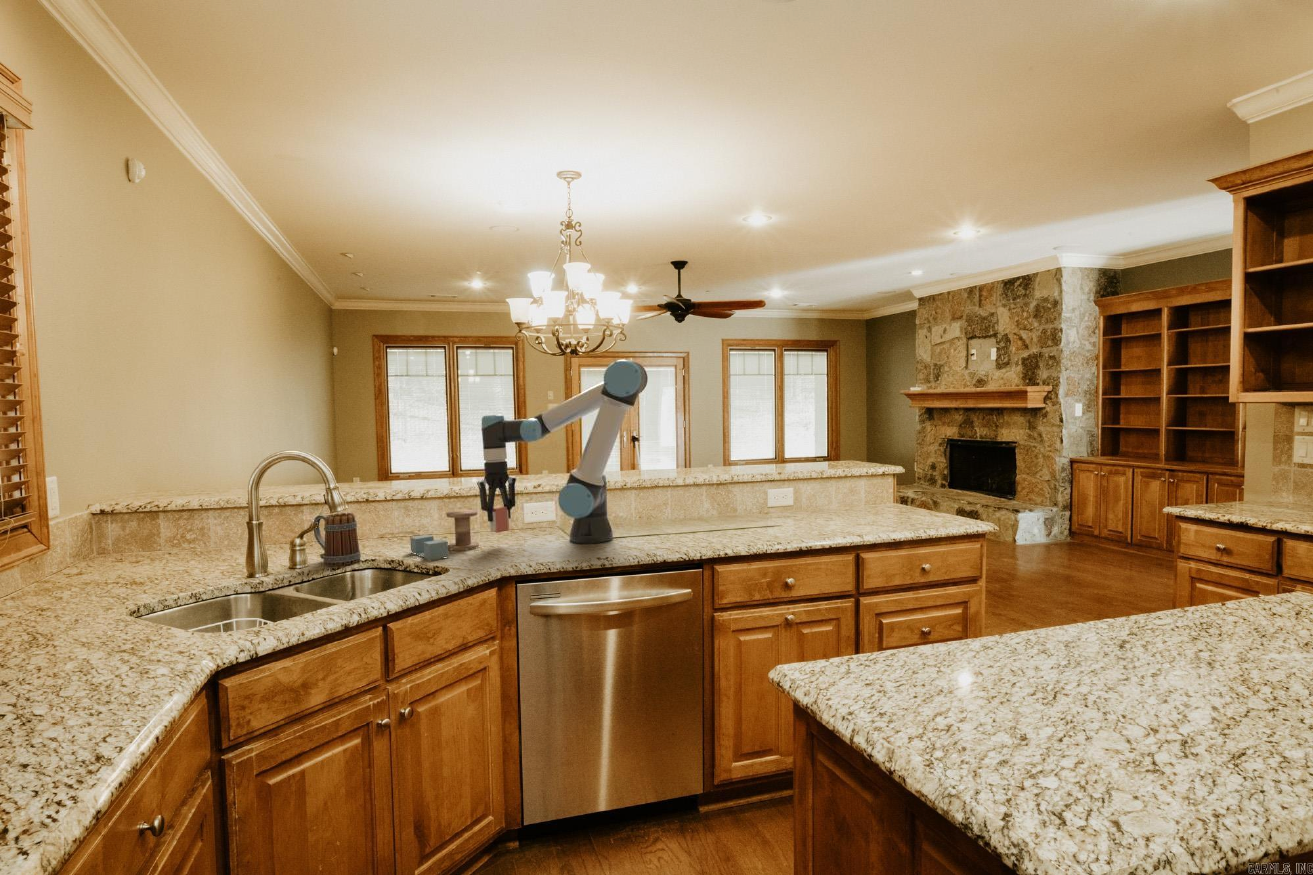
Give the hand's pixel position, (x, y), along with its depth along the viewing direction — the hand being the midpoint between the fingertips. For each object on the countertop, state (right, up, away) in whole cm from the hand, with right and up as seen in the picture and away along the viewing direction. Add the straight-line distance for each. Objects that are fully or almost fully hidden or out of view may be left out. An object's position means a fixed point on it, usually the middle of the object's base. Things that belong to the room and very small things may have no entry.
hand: (500, 529), depth 229 cm
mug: (-47, -8, -17) cm, 51 cm away
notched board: (-21, -7, -10) cm, 24 cm away
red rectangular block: (0, 0, 0) cm, 0 cm away
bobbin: (-13, -6, +1) cm, 14 cm away
